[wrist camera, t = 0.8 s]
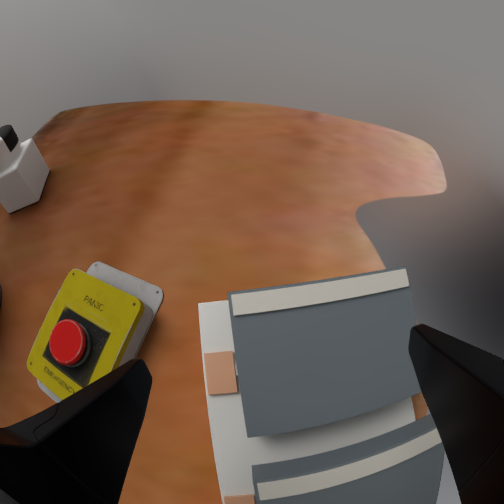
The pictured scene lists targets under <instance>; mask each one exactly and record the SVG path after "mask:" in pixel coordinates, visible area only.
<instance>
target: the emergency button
mask: <svg viewBox="0 0 504 504" xmlns="http://www.w3.org/2000/svg"><path fill="white" fill-rule="evenodd" d="M163 296H164V295H163V291H162V290H161V289H160V288H159V287H158V286H156V285H153V284H151V283H148V282H146V281H143V280H141V279H139V278H136V277H134V276H131V275H129V274H127V273H124V272H122V271H120V270H118V269H115V268H113V267H111V266H108V265H106V264H104V263H102V262H95V263H93V264H92V265H91V266H90V267H89V269H88V271H87V272H86V273H85V272H83V271H81V270H79V269H73V270H71V271H70V273H69V274H68V276H67V277H66V279H65V281H64V283H63V285H62V286H61V288H60V290H59V292H58V294H57V296H56V298H55V300H54V302H53V303H52V305H51V307H50V309H49V311H48V314H47V316H46V318H45V320H44V322H43V324H42V326H41V328H40V331H39V333H38V335H37V337H36V340H35V342H34V344H33V347H32V349H31V352H30V354H29V357H28V359H27V367H28V369H29V371H30V372H31V373H32V374H33V375H34V376H35V377H36V378H37V383H38V386H39V387H40V389H41V390H42V391H44V392H45V393H46V394H47V395H48V396H49V397H50V398H51V399H53V400H54V401H55V402H56V403H58V402H60V401H62V400H63V399H65V398H67V397H69V396H70V395H72V394H74V393H75V392H77V391H79V390H81V389H82V388H84V387H86V386H87V385H89V384H91V383H92V382H94V381H96V380H98V379H99V378H101V377H103V376H104V375H106V374H108V373H109V372H111V371H113V370H114V369H116V368H118V367H119V366H121V365H123V364H124V363H126V362H127V361H129V360H131V359H135V358H136V356H137V353H138V351H139V349H140V347H141V345H142V342H143V340H144V338H145V336H146V334H147V332H148V330H149V327H150V325H151V323H152V321H153V319H154V317H155V315H156V313H157V311H158V309H159V307H160V305H161V303H162V300H163Z"/></svg>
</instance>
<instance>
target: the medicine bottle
mask: <svg viewBox="0 0 504 504" xmlns="http://www.w3.org/2000/svg"><path fill="white" fill-rule="evenodd" d="M49 171H50V169H49V167H48V166H47V164H46V162H45V161H44V159H43V157H42V155H41V154H40V152H39V150H38V148H37V147H36V145H35V143H34V141H33V139H29V140H27V141H25V142H23V143H21V142H20V140H19V139H18V137H17V135H16V133H15V132H14V129H13V128H12V126H11V125H5V126H2V127H1V128H0V203H1V204H2V206H3V207H4V208H5V209H6V210H7V212H8V213H12V212H14V211H16V210H18V209H21V208H23V207H26V206H28V205H30V204H33V203H35V202H38V201H39V199H40V196H41V193H42V190H43V187H44V184H45V182H46V179H47V176H48V173H49Z"/></svg>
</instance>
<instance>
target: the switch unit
mask: <svg viewBox="0 0 504 504" xmlns="http://www.w3.org/2000/svg"><path fill="white" fill-rule="evenodd" d="M198 306H199V321H200V335H201V347H202V358H203V369H204V379H205V388H206V397H207V405H208V414H209V421H210V429H211V436H212V443H213V450H214V456H215V463H216V469H217V475H218V481H219V486H220V492H221V497H222V502H223V504H257V502H256V496H255V491H254V486H253V479H252V466H251V465H258V464H266V463H273V462H279V461H285V460H291V459H296V458H301V457H306V456H311V455H315V454H319V453H323V452H327V451H331V450H335V449H339V448H342V447H346V446H349V445H352V444H356V443H359V442H362V441H365V440H368V439H371V438H374V437H377V436H379V435H382V434H385V433H387V432H390V431H393V430H395V429H397V428H400V427H402V426H405V425H407V424H409V423H412V422H414V421H415V415H414V409H413V403H412V397H409V398H406V399H404V400H401V401H398V402H396V403H393V404H390V405H388V406H385V407H382V408H379V409H376V410H373V411H370V412H367V413H364V414H361V415H357V416H354V417H351V418H347V419H344V420H340V421H336V422H332V423H328V424H324V425H320V426H316V427H311V428H306V429H302V430H296V431H291V432H286V433H280V434H273V435H267V436H259V437H251V438H247V432H246V426H245V419H244V413H243V406H242V400H241V393H240V386H239V379H238V372H237V365H236V357H235V350H234V342H233V334H232V327H231V319H230V310H229V302H228V300H225V301H216V302H207V303H198Z"/></svg>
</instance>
